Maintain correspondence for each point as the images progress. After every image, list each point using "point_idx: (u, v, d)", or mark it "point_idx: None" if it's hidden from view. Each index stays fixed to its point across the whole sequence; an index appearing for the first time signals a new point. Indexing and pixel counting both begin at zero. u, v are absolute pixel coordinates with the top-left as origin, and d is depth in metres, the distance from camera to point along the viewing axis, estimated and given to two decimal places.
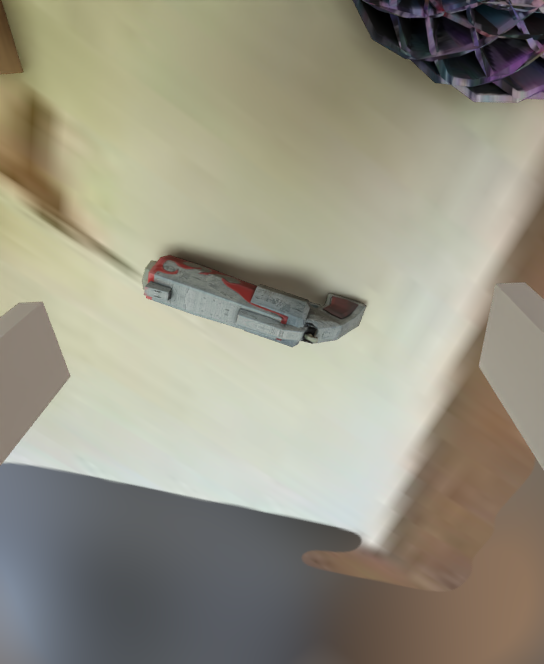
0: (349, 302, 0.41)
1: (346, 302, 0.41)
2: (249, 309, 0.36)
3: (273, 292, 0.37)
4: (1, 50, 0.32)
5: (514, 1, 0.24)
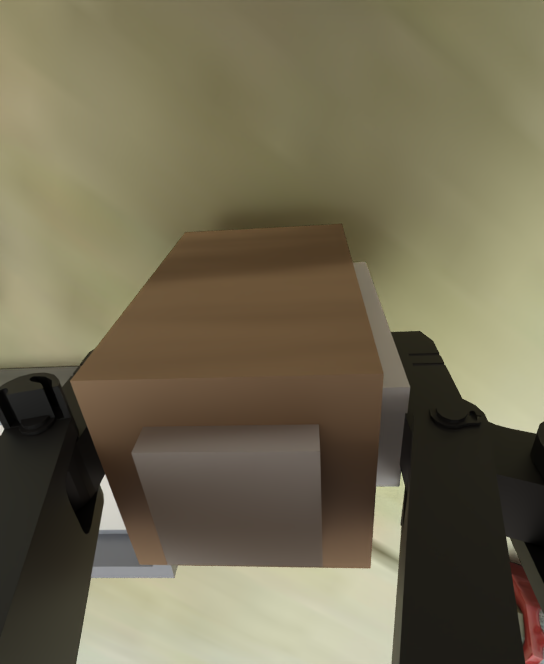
0: None
1: None
2: None
3: None
4: None
5: None
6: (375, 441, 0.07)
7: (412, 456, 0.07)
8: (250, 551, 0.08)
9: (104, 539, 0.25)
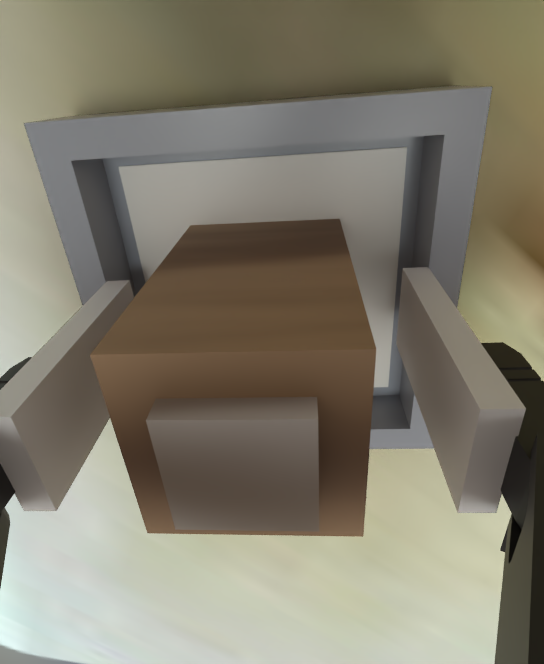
0: None
1: None
2: None
3: None
4: None
5: None
6: (368, 413, 0.08)
7: (536, 480, 0.06)
8: (252, 516, 0.09)
9: None
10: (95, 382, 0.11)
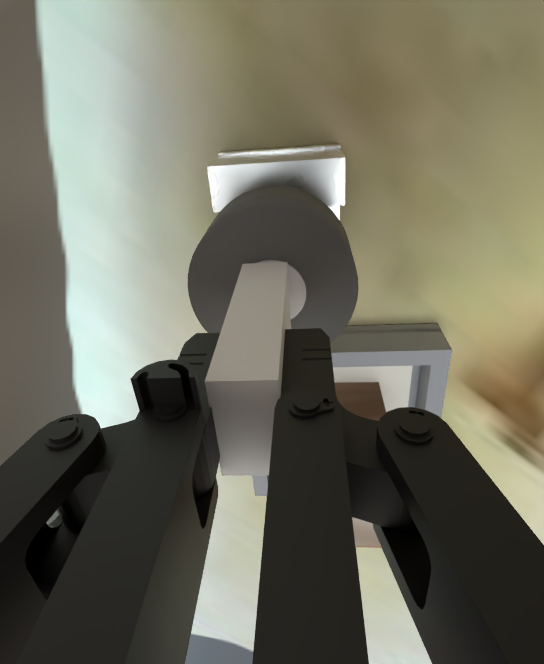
0: None
1: None
2: None
3: None
4: None
5: None
6: None
7: (272, 450, 0.07)
8: None
9: None
10: None
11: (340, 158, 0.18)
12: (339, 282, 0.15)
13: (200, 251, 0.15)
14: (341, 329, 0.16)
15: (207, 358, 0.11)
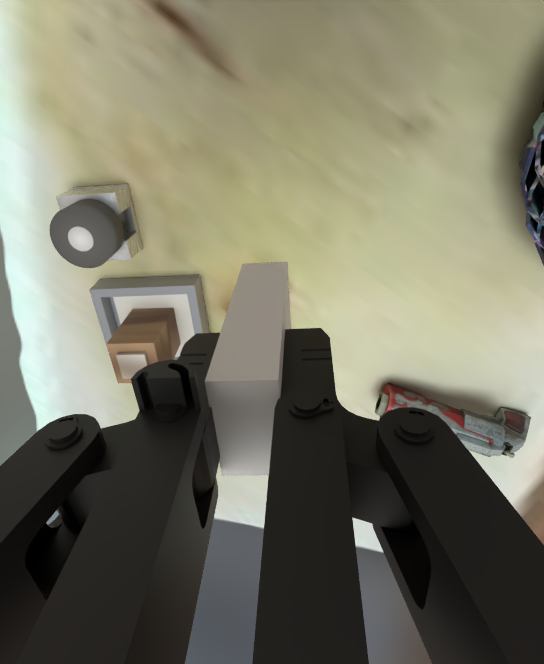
0: (519, 416, 0.55)
1: (517, 416, 0.55)
2: (465, 434, 0.50)
3: (477, 419, 0.51)
4: (174, 342, 0.51)
5: None
6: (155, 354, 0.45)
7: (272, 450, 0.07)
8: None
9: None
10: None
11: (113, 193, 0.42)
12: (104, 234, 0.41)
13: (52, 223, 0.40)
14: (110, 253, 0.42)
15: (207, 358, 0.11)
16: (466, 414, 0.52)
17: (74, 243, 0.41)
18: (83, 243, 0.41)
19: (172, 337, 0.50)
